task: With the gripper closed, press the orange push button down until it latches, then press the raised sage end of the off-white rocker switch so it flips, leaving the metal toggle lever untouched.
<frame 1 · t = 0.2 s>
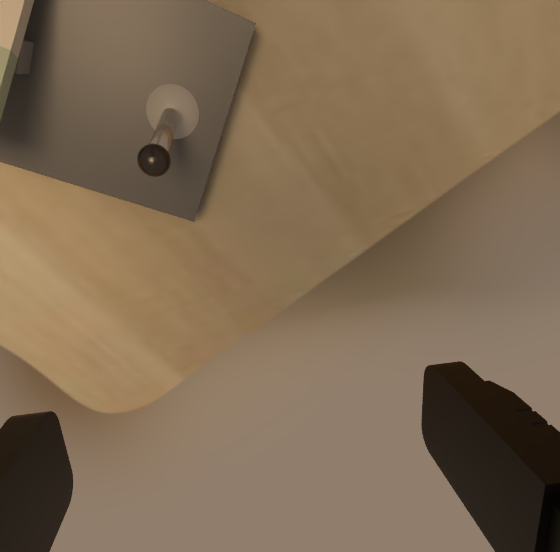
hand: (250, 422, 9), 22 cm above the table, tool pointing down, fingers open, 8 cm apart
lever: (158, 149, 22), point 6 cm above the table, hinge at 25.0°
panel: (8, 46, 24), on the table
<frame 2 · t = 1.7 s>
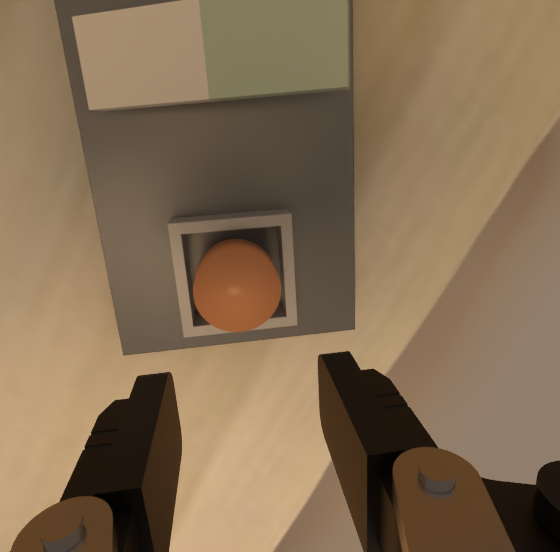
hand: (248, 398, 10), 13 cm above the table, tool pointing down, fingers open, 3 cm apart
button: (236, 284, 18), point 5 cm above the table, slide at 0.0 cm
panel: (217, 84, 20), on the table
rocker: (209, 52, 15), point 5 cm above the table, hinge at -20.0°
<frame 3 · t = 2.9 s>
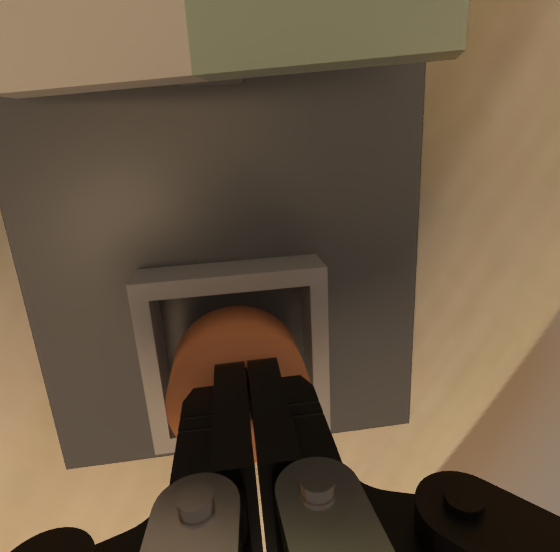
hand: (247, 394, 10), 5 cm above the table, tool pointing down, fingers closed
button: (239, 382, 11), point 4 cm above the table, slide at 0.1 cm, touching gripper
panel: (209, 61, 13), on the table
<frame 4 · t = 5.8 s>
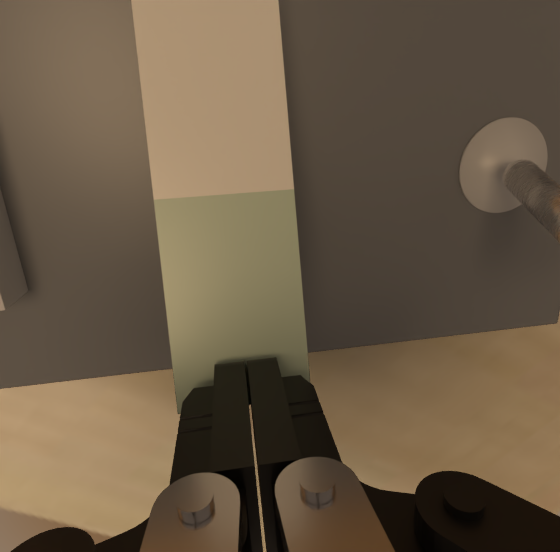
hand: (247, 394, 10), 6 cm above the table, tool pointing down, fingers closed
panel: (209, 180, 15), on the table
rocker: (225, 196, 10), point 5 cm above the table, hinge at -14.3°, touching gripper
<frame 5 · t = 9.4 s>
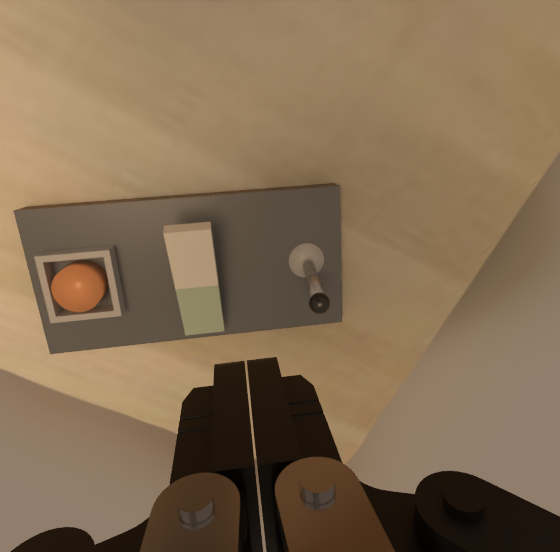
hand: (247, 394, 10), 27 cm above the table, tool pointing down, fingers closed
lever: (316, 293, 33), point 6 cm above the table, hinge at 25.0°
button: (80, 285, 33), point 3 cm above the table, slide at 1.4 cm
panel: (194, 264, 37), on the table
rocker: (197, 283, 32), point 5 cm above the table, hinge at 21.2°
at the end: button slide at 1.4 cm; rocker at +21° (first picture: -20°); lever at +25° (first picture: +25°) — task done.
